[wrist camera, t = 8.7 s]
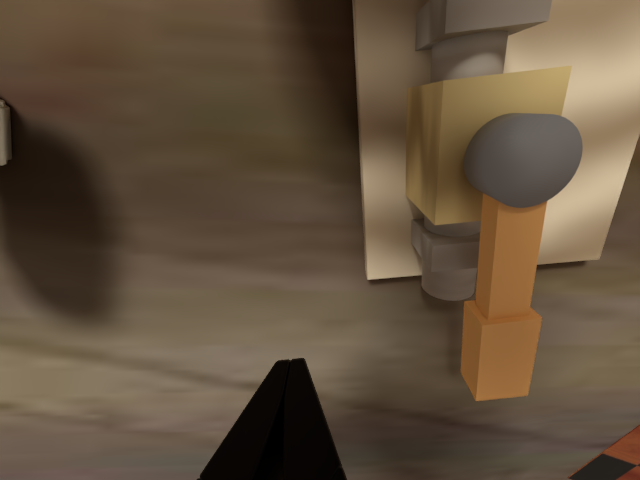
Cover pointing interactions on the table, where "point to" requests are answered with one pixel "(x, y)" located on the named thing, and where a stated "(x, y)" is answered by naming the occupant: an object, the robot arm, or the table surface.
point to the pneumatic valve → (5, 134)
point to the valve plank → (526, 50)
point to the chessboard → (614, 461)
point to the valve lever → (511, 244)
